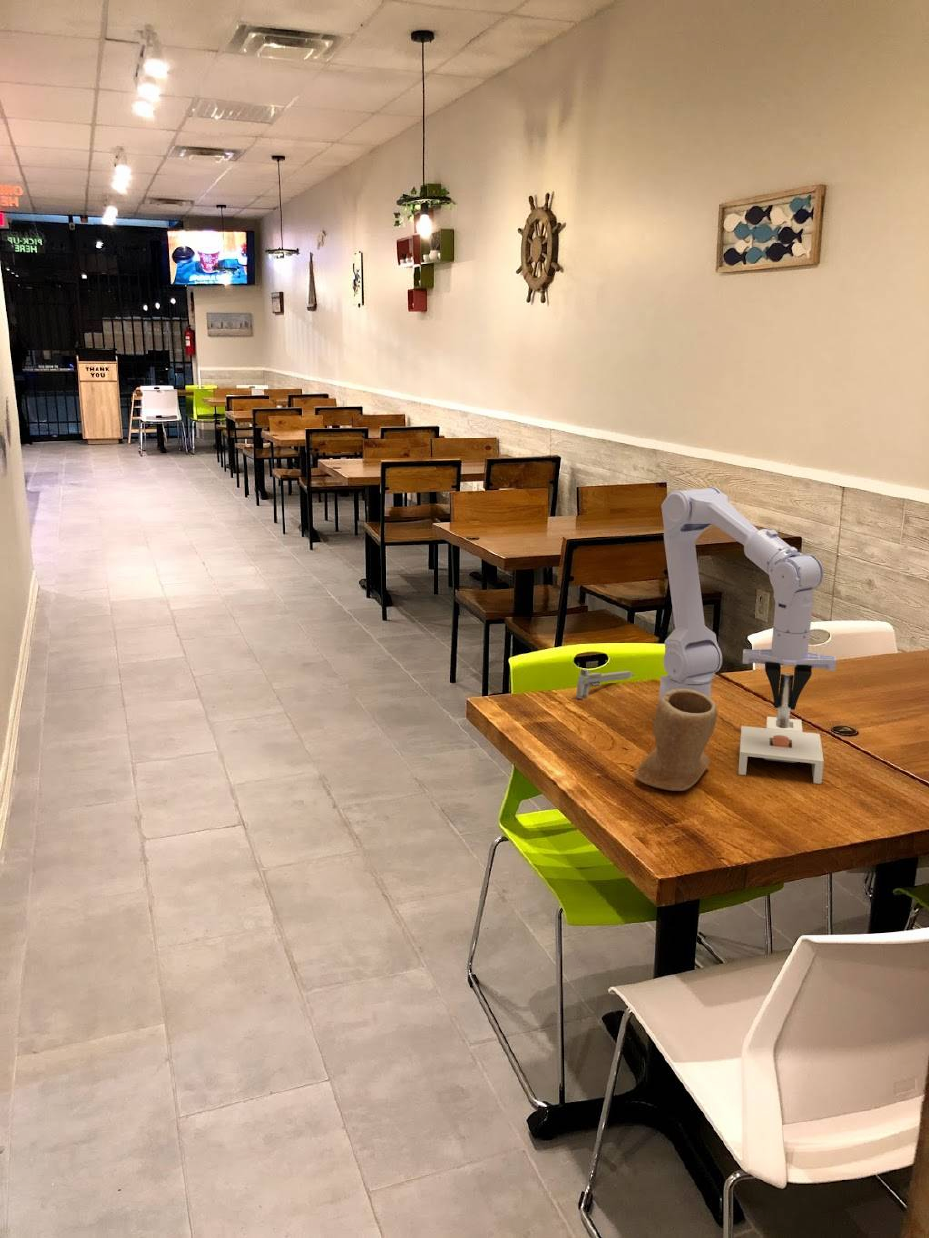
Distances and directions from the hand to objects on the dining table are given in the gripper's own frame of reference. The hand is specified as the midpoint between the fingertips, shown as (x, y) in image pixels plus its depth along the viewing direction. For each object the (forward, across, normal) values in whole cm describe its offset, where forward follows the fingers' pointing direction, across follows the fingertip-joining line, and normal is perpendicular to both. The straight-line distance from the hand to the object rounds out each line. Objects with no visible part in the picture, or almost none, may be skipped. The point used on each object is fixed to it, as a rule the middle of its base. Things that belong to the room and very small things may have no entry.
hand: (784, 706), depth 161 cm
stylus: (+3, 0, 0) cm, 3 cm away
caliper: (+11, -34, +31) cm, 47 cm away
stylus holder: (+10, +1, +13) cm, 17 cm away
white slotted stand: (+10, 0, 0) cm, 10 cm away
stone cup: (+11, -16, -10) cm, 22 cm away
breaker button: (+9, 0, 0) cm, 9 cm away
